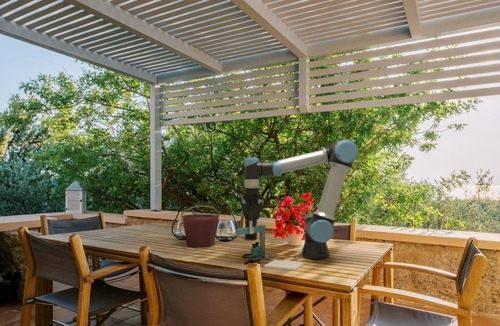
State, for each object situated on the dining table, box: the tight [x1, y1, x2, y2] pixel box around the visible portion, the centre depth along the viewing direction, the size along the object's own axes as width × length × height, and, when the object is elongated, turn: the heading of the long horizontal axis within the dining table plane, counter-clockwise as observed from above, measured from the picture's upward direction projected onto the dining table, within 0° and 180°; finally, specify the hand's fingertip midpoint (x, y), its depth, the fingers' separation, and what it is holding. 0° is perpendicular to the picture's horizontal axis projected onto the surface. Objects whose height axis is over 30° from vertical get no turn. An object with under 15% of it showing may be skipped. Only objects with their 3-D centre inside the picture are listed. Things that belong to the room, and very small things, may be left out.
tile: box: [263, 259, 305, 272], centre depth 196 cm, size 16×14×1 cm
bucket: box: [180, 205, 221, 249], centre depth 249 cm, size 24×22×25 cm
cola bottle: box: [244, 204, 258, 241], centre depth 273 cm, size 8×8×30 cm
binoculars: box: [241, 241, 262, 264], centre depth 201 cm, size 9×11×10 cm
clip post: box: [259, 231, 273, 261], centre depth 214 cm, size 8×8×14 cm
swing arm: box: [235, 224, 267, 236], centre depth 207 cm, size 22×4×3 cm, turn 139°
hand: (251, 233), depth 204 cm, fingers closed
